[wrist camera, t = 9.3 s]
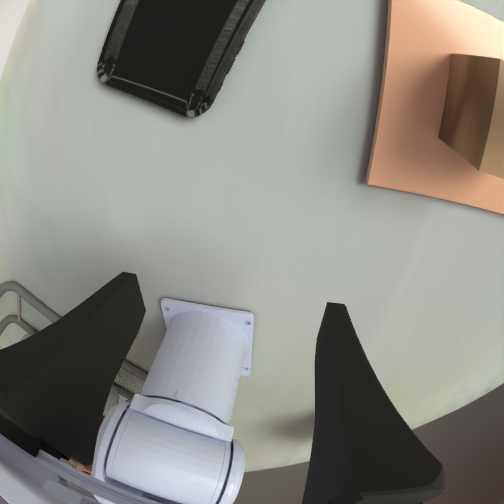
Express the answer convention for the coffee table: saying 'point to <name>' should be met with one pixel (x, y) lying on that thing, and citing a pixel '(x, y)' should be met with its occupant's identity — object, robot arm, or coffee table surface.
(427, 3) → the terracotta tile
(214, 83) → the phone
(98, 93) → the coffee table surface
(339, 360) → the robot arm
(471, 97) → the walnut cube
